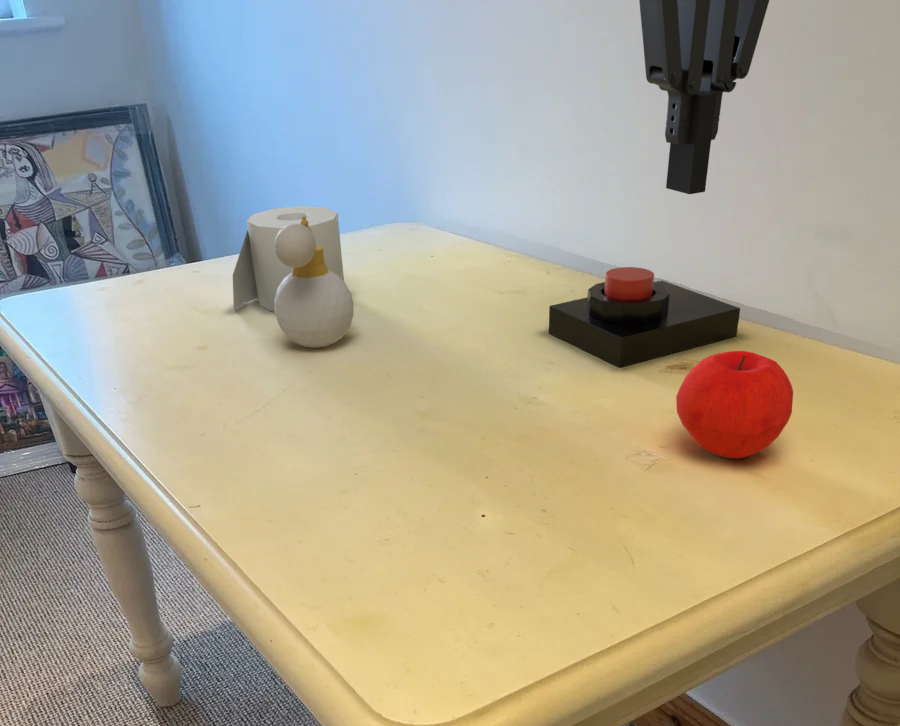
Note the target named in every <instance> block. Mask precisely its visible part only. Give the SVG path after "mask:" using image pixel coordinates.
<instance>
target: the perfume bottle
mask: <svg viewBox="0 0 900 726" xmlns="http://www.w3.org/2000/svg"><path fill="white" fill-rule="evenodd" d="M274 249H275V253H276V256H277V257H278V259H279V260H280V261H281V262H282V263H283V264H285V265H286V266H288V267H293V269H292V273H290V274H289V275H288V276H287V277H285V278H284V280H283V281H282V283H281V284H280V286H279V287H278V289H277V293H276V296H275V300H274V311H273V312H274V315H275V318H276V321H277V324H278V326H279V328H280V329H281V331H282V332H283V334H284V335H285V336H286V337H287V338H288V339H289V340H290V341H291V342H293V343H296V344H297V345H299V346H301V347H303V348H304V347H305V348H312V349H317V348H325V347H328V346H331V345H333V344H335V343H337V342H338V341H340V340H341V339H342V338H344V337H345V335H346V334H347V332H348V331H349V329H350V327H351V326H352V322H353V319H354V300H353V296H352V294H351V291H350V290H349V287H348V286H347V284H346V282H345V280H344V281H343V280H342V279H341V278H340V277H339V276H338V275H337V274H335V273H333V272H331V271H329V270H328V269H327V267H326V264H325V262H324V254H323V247H322V246H321V245H317V244H316V242H315V238H314V235H313V234H312V230H311V228H309V227H308V221H307V220H306V217H305V216H303V217H302V221H301V224H289V225H287V226H285V227H283V228H282V229H281V230H280V231H279V232H278V234H277V235H276V238H275V241H274Z"/></svg>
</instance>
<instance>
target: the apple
mask: <svg viewBox="0 0 900 726" xmlns="http://www.w3.org/2000/svg"><path fill="white" fill-rule="evenodd" d="M675 399H676V401H675V402H676V404H675V405H676V413H677V416H678V418H679V420H680V423H681V425H682V426H683V427H684V428H685V430H686V432H687V433H689V435H690V436H691V437H692V439H693V440H694V441H695V442H696V444H697V445H698V446H699V447H700V448H701V449H702V450H705V451H707V452H710V453H711V454H713V455H716V456H720V457H723V458H726V459H743V458H744V459H745V458H747V457H750V456H752V455H755V454H756V453H757V454H758V453H759V452H761V451H763V450H765V449H767V448H768V447H769V446H770V445H771V444H772V443H773V442H774V441H775V440H777V439H778V438H779V436H780V435H781V434H782V432H783V430H784V429H785V428H786V426H787V424H788V422H789V421H790V418H791V416H792V414H793V400H794V388H793V385H792V383H791V380H790V378H789V376H788V375H787V373H786V371H785V370H784V368H782V366H781V365H780V364H779V363H778V362H777V361H776V360H774V359H771V358H769V357H767V356H763V355H761V354H758V353H756V352H751V351H745V350H730V351H722V352H719V353H713V354H710V355H708V356H706V357H704V358H703V359H702V360H700V361H699V362H698V363H697V364H695V365H694V366H693V367H692V368H691V369H690V370H689V372H688V373H687V374H686V376H685V377H684V379H683V381H682V383H681V384H680V386H679V389H678V391H677V393H676V395H675Z"/></svg>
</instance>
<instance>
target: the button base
mask: <svg viewBox="0 0 900 726" xmlns="http://www.w3.org/2000/svg"><path fill="white" fill-rule="evenodd" d="M604 290H605V281H604V282H603V281H602V282H598V283H595V284H594V285H592V286H591V287H589V288H588V289H587V297H583V298H577V299H573V300H568V301H565V302H561V303H555V304H552V305H551V304H550V305H549V309H548V310H549V311H548V334H550V335H552V336H553V337H555V338H558V339H559V340H562V341H564V342H565V343H568V344H570V345H572V346H575V347H576V348H577V349H580V350H583V351H585V352H586V353H589V354H591V355H593V356H595V357H597V358H599V359H601V360H603V361H605V362H606V363H607V362H608V363H610V364H612V365H614V366H616V367H618V368H624V367H627V366H630V365H634V364H637V363H642V362H646V361H650V360H652V359H658V358H660V357H664V356H668V355H672V354H675V353H679V352H683V351H686V350H691V349H694V348H698V347H702V346H705V345H709V344H713V343H716V342H720V341H724V340H727V339H731V338H736V337H737V335H738V327H739V320H740V315H741V308H740V307H738V306H735V305H732V304H730V303H727V302H724V301H721V300H718V299H715V298H713V297H710V296H708V295H704V294H701V293H699V292H696V291H693V290H690V289H688V288H685V287H683V286H679V285H676V284H673V283H671V282H668V281H666V280H658V281H654V283H653V294H652V297H650V298H646V299H642V300H620V299H612V298H610V297H607V296H605V295H604Z"/></svg>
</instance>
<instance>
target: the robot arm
mask: <svg viewBox="0 0 900 726" xmlns="http://www.w3.org/2000/svg"><path fill="white" fill-rule="evenodd" d="M769 4H770V0H639V12H640V13H639V14H640V24H641V36H642V47H643V58H644V68H645V70H644V71H645V78H646V81H647V83H649V84H650V85H651V84H654V85H656V86H658V88H659V90H661V91H665V92H666V93H667V96H668V97H667V110H666V121H665V130H664V136H665V137H664V138H665V143H668V144H669V153H668V163H667V174H666V185H665V189H667V190H672V191H675V192H679V193H683V194H687V195H694V194H701V193H706V186H707V177H708V169H709V161H710V154H711V153H710V152H711V147H712V146H711V145H712V141H715V140H716V137H717V135H718V133H719V125H720V116H721V109H722V108H721V107H722V100H723V93H732V92H733V91H734V90H735V88H736V86H737V81H736V80H743V79H745V78H746V77H747V76H748V74H749V72H750V69H751V65H752V62H753V58H754V54H755V52H756V47H757V45H758V40H759V38H760V34H761V30H762V27H763V24H764V20H765V17H766V14H767V10H768V6H769Z"/></svg>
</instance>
